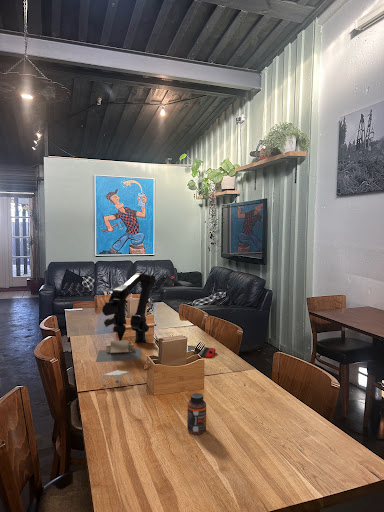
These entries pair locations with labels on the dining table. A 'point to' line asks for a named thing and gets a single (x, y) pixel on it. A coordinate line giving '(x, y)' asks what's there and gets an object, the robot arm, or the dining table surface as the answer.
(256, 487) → the dining table surface
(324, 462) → the dining table surface
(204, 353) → the gaming console
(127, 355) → the mat
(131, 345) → the rail
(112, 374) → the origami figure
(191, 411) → the supplement bottle
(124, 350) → the deck
